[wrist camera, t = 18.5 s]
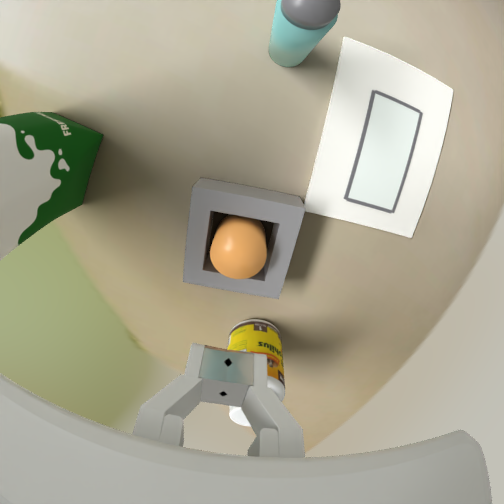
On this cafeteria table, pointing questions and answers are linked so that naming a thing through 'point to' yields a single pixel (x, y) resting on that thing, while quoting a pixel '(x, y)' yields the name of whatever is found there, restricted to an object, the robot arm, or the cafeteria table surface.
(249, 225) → the button
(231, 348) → the supplement bottle
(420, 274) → the cafeteria table surface
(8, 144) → the milk carton
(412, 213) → the worksheet
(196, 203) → the button housing
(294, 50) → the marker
